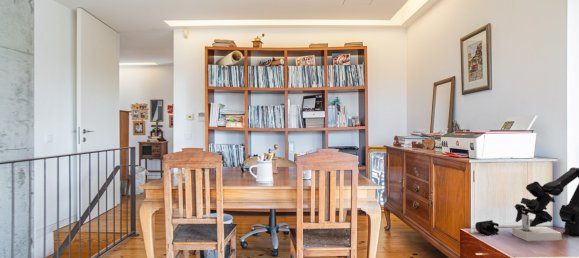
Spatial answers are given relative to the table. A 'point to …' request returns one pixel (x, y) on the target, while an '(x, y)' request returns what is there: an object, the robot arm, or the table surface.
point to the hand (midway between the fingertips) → (523, 223)
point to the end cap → (487, 227)
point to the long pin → (525, 222)
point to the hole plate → (537, 234)
